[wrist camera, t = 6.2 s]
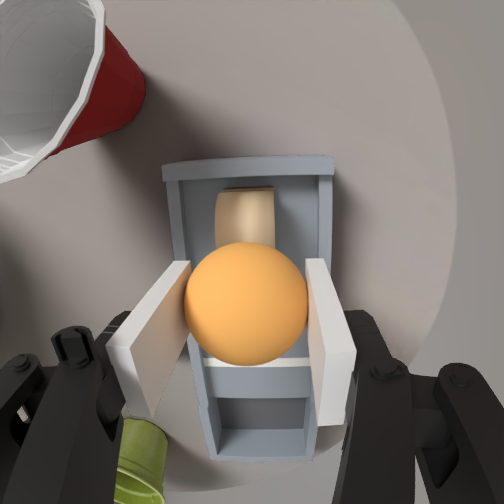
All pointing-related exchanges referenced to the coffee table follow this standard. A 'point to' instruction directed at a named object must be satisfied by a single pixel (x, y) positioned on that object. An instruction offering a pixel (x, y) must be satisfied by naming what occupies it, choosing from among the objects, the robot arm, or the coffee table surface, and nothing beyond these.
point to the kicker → (245, 216)
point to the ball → (246, 304)
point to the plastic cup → (60, 80)
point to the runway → (297, 250)
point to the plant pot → (141, 464)
